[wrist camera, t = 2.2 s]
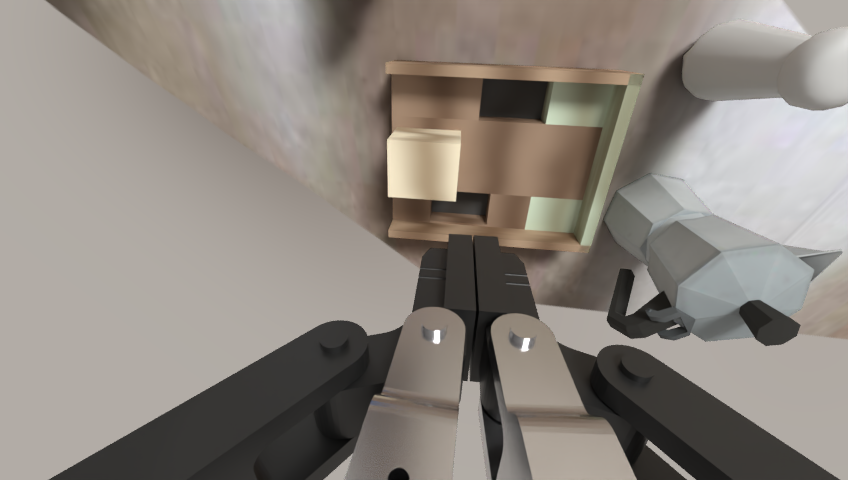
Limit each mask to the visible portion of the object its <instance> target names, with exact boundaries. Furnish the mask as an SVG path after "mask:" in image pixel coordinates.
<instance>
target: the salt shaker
mask: <svg viewBox="0 0 848 480" xmlns="http://www.w3.org/2000/svg"><path fill="white" fill-rule="evenodd" d="M682 80H683V84H684V87H685V88H686V89H687V90H688V91H689V92H691V93H692V94H693V95H694V96H695V97H696V98H700V99H704V100H709V101H726V100H745V99H764V98H783V99H784V100H785V101H786V102H787V103H788V104H789V105H792V106H796V107H800V108H804V109H808V110H813V111H814V110H827V109H832V108H836V107H840V106H843V105H845V104H847V103H848V26H845V27H839V28H835V29H831V30H827V31H823V32H820V33H818V34H815V35H814V36H811V35H807V34H803V33H799V32H795V31H791V30H786V29H782V28H778V27H774V26H770V25H766V24H762V23H757V22H752V21H747V20H742V19H738V20H734V21H730V22H726V23H722V24H719V25H716V26H715V27H713V28H712V29H710V30H709V31H708V32H706V33H705V34H704V35H702V36H701V37H700V38H699V39H698V40H697V41H696V43H695V44H694V45H693V47H692V48H691V49H690V50H689V51H688V52H687V53H686V54H685V55H684V56H683V67H682Z"/></svg>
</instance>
